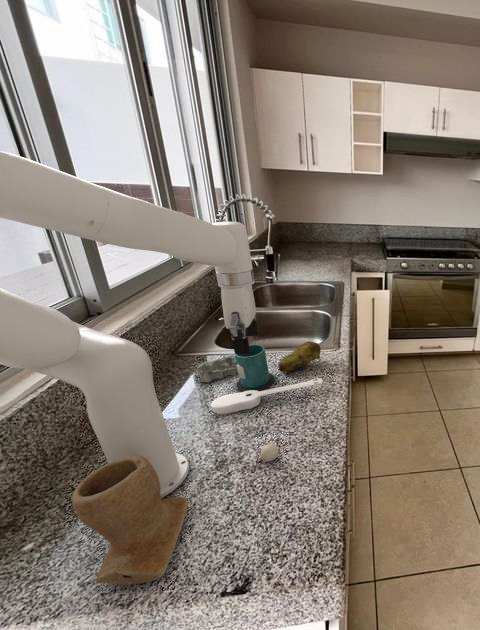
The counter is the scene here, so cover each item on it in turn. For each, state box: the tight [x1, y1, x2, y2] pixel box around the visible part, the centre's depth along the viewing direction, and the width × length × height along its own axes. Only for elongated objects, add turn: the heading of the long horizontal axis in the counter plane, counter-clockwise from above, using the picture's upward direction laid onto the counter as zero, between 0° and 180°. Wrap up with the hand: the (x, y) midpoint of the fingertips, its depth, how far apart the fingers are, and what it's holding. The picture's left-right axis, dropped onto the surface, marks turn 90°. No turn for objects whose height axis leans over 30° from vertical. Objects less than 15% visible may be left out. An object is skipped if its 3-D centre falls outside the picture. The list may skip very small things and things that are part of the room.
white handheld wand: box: [210, 377, 324, 415], centre depth 93 cm, size 28×6×3 cm, turn 114°
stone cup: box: [71, 456, 189, 586], centre depth 54 cm, size 15×12×15 cm
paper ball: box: [260, 443, 280, 463], centre depth 74 cm, size 4×4×4 cm
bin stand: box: [236, 372, 275, 393], centre depth 101 cm, size 10×10×1 cm
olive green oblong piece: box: [278, 341, 322, 373], centre depth 108 cm, size 8×13×8 cm, turn 109°
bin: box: [234, 344, 270, 388], centre depth 99 cm, size 8×8×10 cm
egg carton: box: [196, 354, 238, 383], centre depth 104 cm, size 11×8×4 cm
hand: (247, 344), depth 85 cm, fingers open, 9 cm apart
